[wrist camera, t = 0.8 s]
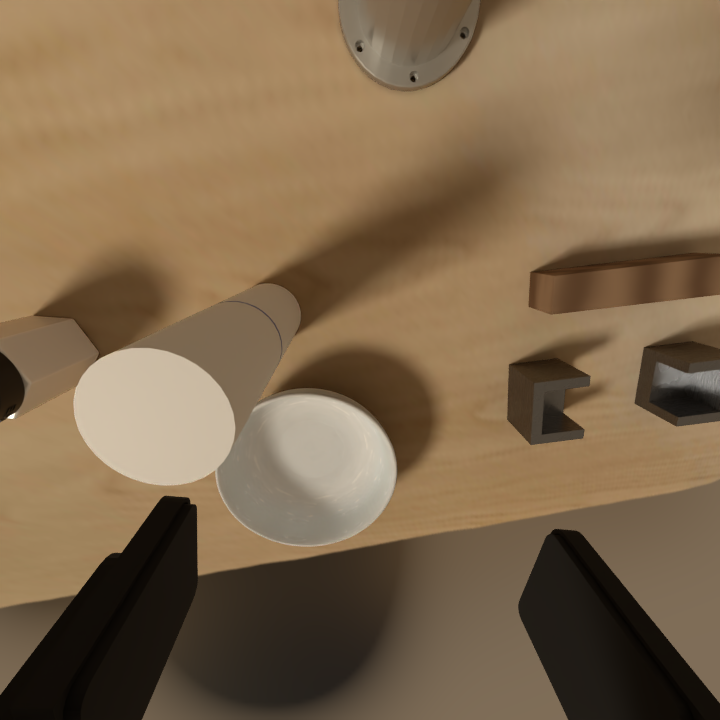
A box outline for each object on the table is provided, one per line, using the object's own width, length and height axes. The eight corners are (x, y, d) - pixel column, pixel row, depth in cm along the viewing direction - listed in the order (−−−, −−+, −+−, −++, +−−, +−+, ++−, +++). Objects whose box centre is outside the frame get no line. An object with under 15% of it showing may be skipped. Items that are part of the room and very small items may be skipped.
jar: (27, 379, 40) (-96, 431, 29) (11, 312, 38) (-132, 341, 26) (105, 384, 41) (14, 437, 30) (94, 318, 38) (-10, 350, 27)
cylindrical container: (313, 310, 39) (265, 410, 16) (277, 355, 41) (185, 508, 17) (262, 269, 37) (120, 313, 14) (226, 318, 39) (46, 433, 15)
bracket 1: (507, 419, 45) (530, 444, 39) (509, 364, 42) (534, 383, 37) (553, 413, 45) (583, 438, 39) (557, 358, 42) (590, 376, 37)
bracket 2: (692, 341, 42) (746, 356, 37) (680, 397, 45) (728, 419, 39) (644, 347, 42) (690, 363, 37) (634, 403, 45) (676, 426, 39)
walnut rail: (527, 306, 40) (551, 314, 36) (529, 272, 39) (554, 275, 34) (683, 287, 40) (728, 293, 36) (691, 253, 39) (738, 254, 34)
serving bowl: (416, 465, 47) (428, 500, 40) (290, 528, 50) (282, 571, 43) (339, 341, 41) (338, 360, 34) (200, 421, 43) (174, 452, 37)
